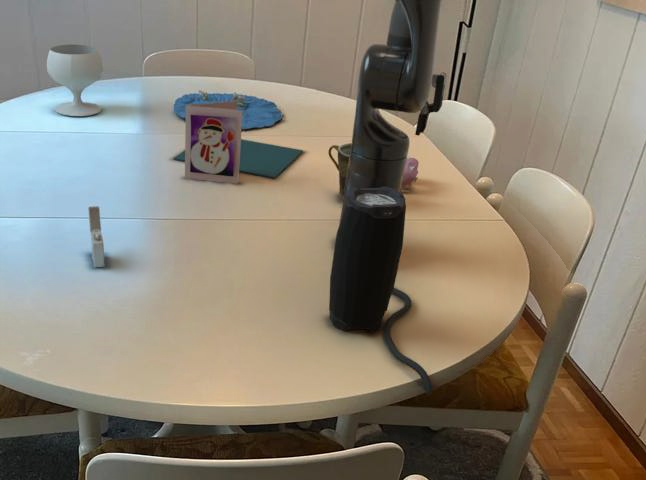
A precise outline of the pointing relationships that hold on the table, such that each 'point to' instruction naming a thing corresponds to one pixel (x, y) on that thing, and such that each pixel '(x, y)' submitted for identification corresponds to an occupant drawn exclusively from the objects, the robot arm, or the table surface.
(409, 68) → the robot arm
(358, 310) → the portable speaker
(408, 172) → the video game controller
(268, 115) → the decorative plate
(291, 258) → the table surface
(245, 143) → the placemat
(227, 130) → the greeting card
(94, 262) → the lighter
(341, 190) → the ceramic cup
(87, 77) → the chalice
